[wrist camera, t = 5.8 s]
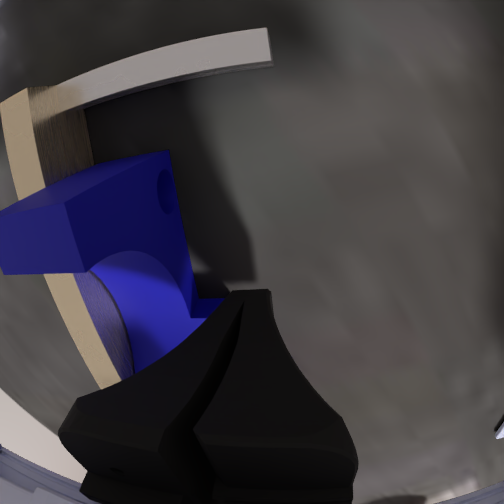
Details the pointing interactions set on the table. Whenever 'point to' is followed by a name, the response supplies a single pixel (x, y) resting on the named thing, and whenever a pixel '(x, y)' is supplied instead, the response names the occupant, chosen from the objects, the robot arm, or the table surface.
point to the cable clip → (115, 246)
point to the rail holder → (80, 157)
